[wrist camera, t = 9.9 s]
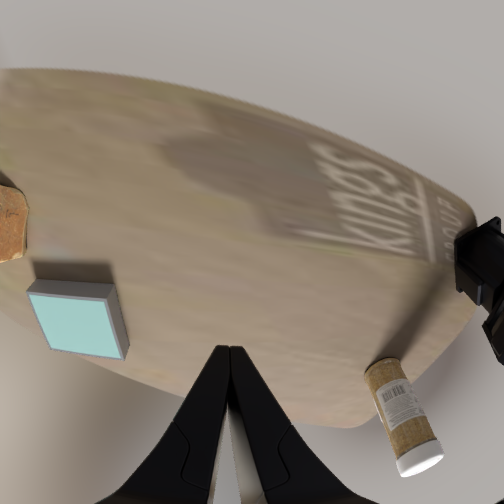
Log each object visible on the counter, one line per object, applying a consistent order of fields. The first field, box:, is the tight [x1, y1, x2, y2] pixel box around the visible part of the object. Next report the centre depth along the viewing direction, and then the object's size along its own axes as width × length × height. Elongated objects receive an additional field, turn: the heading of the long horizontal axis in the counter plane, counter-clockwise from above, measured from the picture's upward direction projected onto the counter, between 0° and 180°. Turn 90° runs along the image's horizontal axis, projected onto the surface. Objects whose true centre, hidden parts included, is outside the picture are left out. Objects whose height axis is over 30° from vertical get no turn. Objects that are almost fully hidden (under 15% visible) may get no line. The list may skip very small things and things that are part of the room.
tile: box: [26, 279, 130, 361], centre depth 23 cm, size 2×7×8 cm
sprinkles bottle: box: [365, 358, 444, 477], centre depth 24 cm, size 5×5×14 cm
